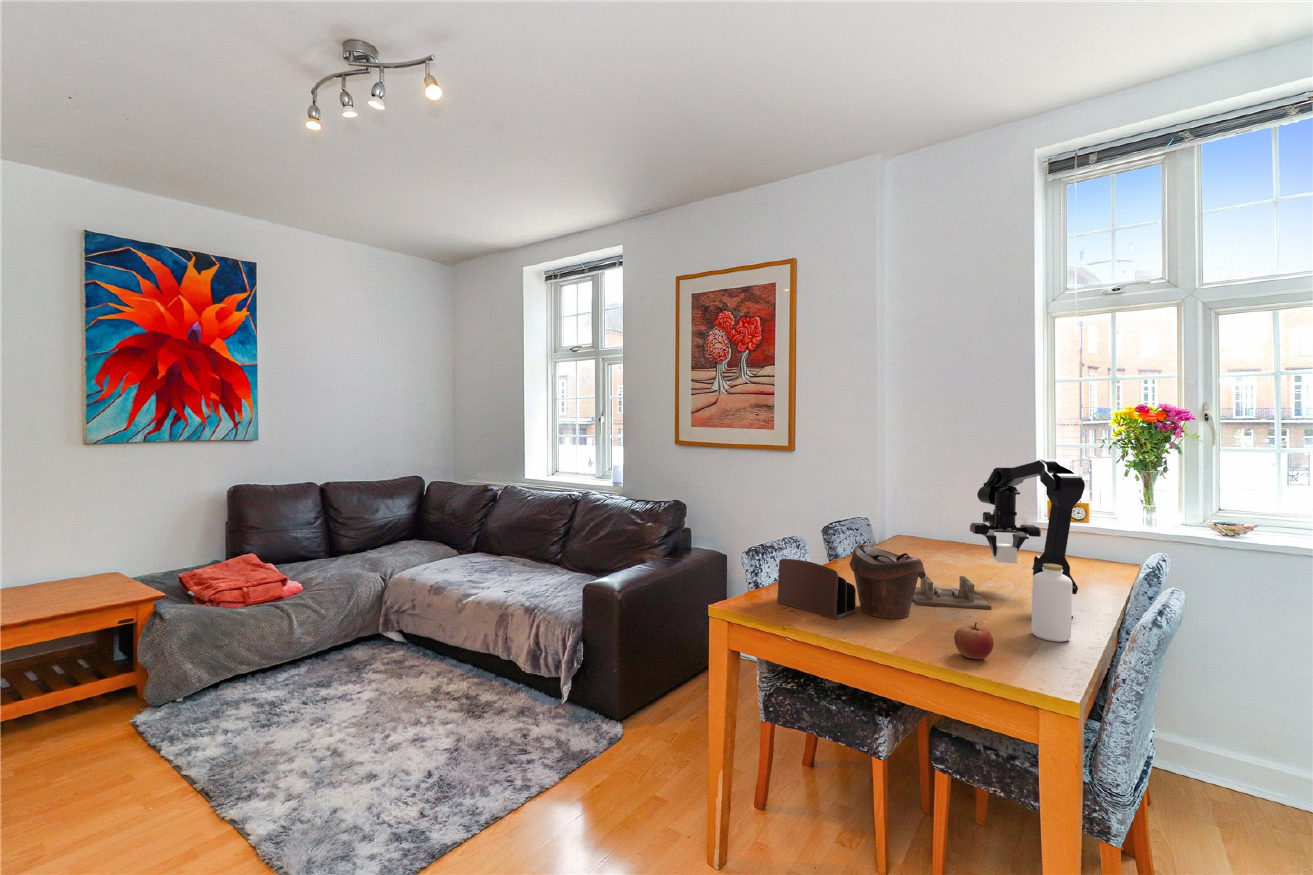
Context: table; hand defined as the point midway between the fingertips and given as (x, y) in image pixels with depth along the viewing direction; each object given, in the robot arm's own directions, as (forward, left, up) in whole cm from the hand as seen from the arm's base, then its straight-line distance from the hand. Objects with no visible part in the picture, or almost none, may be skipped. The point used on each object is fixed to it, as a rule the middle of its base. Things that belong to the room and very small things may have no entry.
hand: (1003, 556), depth 192 cm
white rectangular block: (0, 0, -1) cm, 1 cm away
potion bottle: (-42, +3, -11) cm, 44 cm away
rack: (-13, +20, -11) cm, 26 cm away
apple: (-60, +26, -11) cm, 66 cm away
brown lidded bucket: (-30, +40, -11) cm, 51 cm away
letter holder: (-30, +59, -11) cm, 67 cm away
